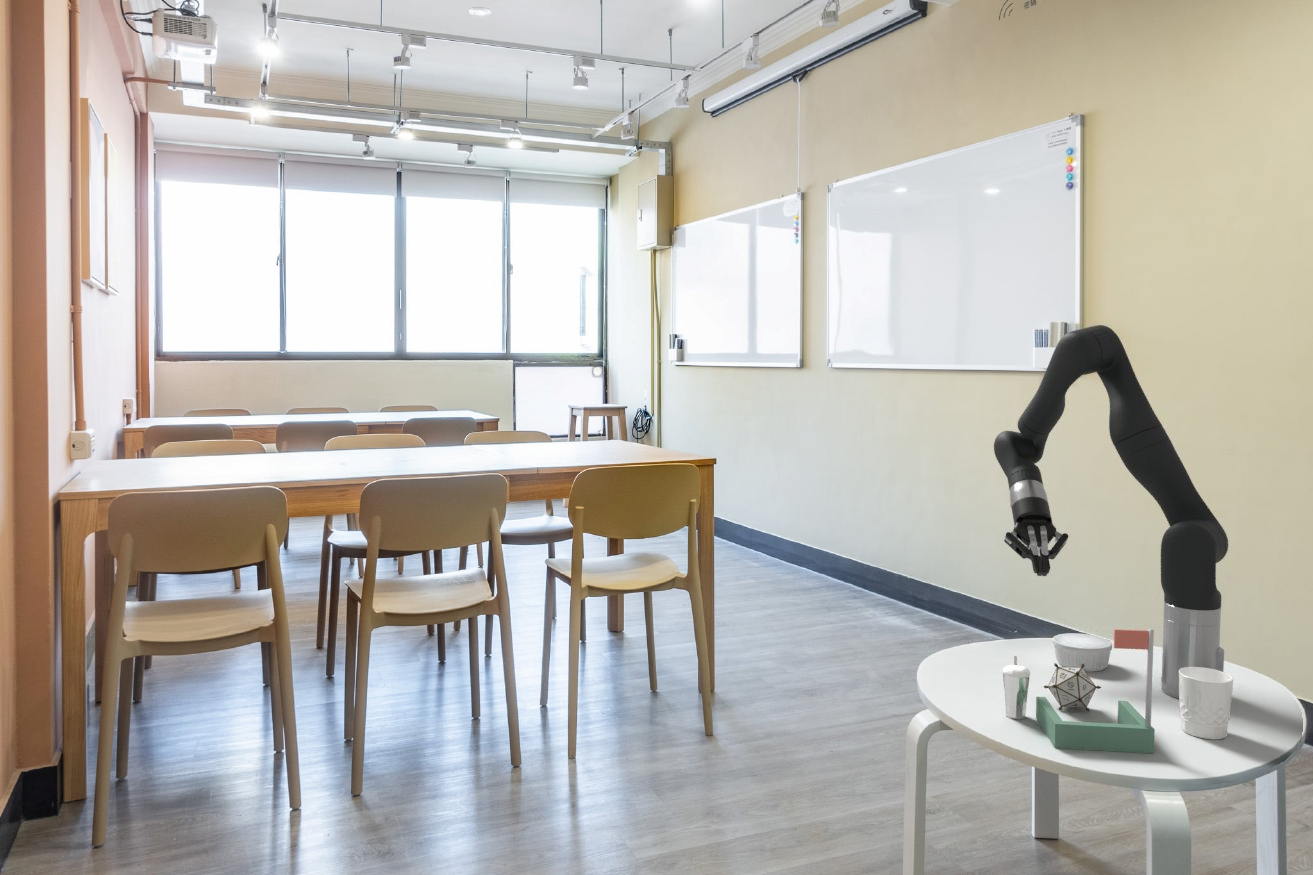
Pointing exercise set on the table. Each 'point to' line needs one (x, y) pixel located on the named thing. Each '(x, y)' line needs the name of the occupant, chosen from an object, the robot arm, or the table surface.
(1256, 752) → the table surface
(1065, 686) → the game die
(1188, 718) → the white cup
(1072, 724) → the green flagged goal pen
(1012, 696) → the milkshake
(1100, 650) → the ramekin
